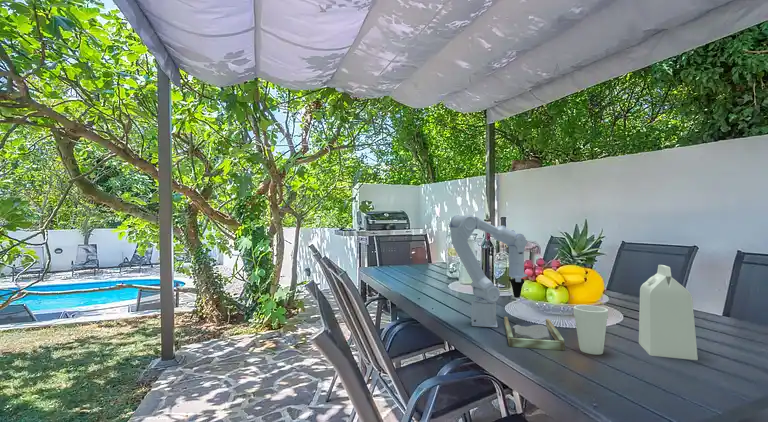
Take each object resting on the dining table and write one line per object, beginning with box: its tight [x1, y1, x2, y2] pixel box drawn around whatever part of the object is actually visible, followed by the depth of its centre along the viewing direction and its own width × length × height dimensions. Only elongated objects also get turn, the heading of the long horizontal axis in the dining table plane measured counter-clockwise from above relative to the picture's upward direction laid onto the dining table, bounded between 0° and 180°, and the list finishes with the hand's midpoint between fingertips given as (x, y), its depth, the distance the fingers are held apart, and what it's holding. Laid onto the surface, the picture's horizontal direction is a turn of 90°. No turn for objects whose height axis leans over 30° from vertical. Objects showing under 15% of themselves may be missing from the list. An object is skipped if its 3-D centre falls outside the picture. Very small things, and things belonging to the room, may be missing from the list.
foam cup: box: [573, 304, 609, 356], centre depth 117 cm, size 10×9×13 cm
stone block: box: [511, 324, 551, 340], centre depth 129 cm, size 12×5×10 cm
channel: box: [503, 316, 566, 351], centre depth 133 cm, size 17×28×3 cm, turn 165°
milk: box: [638, 264, 698, 361], centre depth 116 cm, size 12×12×26 cm
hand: (517, 297), depth 152 cm, fingers closed
